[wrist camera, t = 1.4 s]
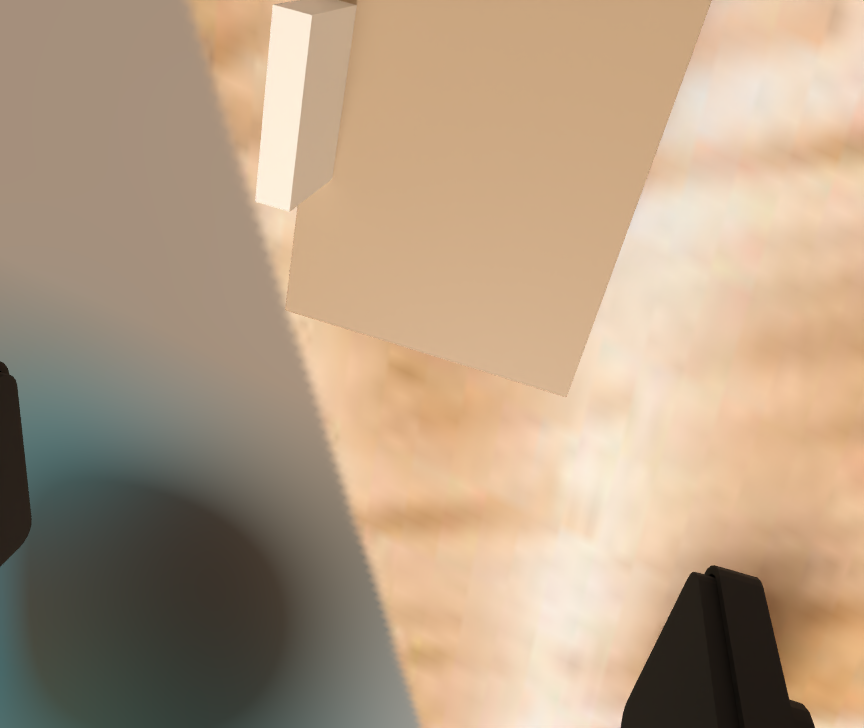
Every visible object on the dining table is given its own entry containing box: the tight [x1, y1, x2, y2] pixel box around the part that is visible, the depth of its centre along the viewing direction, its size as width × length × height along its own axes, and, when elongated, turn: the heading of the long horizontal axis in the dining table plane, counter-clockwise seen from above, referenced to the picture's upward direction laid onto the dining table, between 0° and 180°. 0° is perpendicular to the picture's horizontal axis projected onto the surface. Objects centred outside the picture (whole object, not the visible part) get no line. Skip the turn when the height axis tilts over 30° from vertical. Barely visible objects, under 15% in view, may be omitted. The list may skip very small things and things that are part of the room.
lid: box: [255, 0, 712, 397], centre depth 25 cm, size 18×12×5 cm, turn 168°
